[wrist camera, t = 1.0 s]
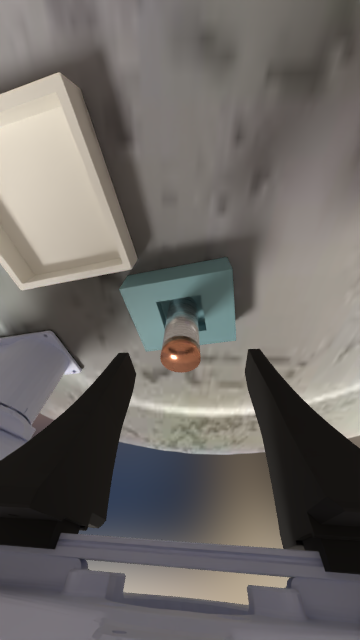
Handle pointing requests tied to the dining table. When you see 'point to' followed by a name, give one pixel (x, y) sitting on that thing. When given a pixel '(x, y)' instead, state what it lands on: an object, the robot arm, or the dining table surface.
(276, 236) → the dining table surface
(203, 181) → the dining table surface
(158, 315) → the teal socket block
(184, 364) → the copper-capped cylinder
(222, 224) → the dining table surface
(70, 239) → the tray
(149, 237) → the dining table surface
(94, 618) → the robot arm
